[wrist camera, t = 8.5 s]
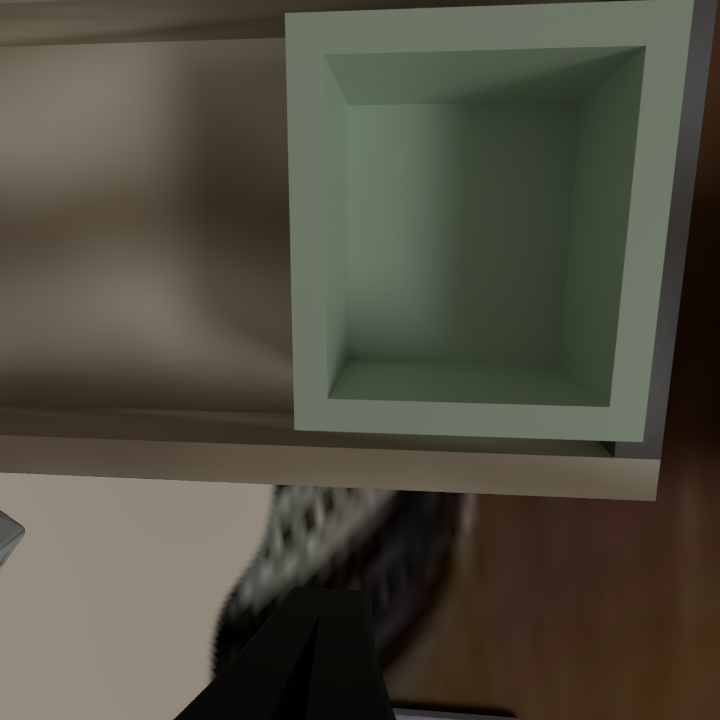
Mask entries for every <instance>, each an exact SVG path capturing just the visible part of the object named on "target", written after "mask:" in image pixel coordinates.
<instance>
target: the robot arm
mask: <svg viewBox="0 0 720 720" xmlns="http://www.w3.org/2000/svg"><path fill="white" fill-rule="evenodd" d="M174 720H519V719H517V718H511V717H499V716H486V715H474V714H461V713H449V712H436V711H424V710H411V709H399V708H392V705H391V702H390V699H389V696H388V693H387V690H386V686H385V683H384V679H383V675H382V672H381V668H380V665H379V661H378V657H377V653H376V648H375V643H374V638H373V633H372V626H371V597H370V596H369V595H368V594H367V593H366V592H365V591H358V590H341V589H325V588H308V587H295V588H294V589H292V590H291V591H290V592H289V593H288V595H287V596H286V597H285V598H284V600H283V601H282V602H281V603H280V605H279V606H278V607H277V608H276V610H275V611H274V612H273V613H272V615H271V616H270V617H269V618H268V619H267V621H266V622H265V623H264V624H263V625H262V627H261V628H260V629H259V630H258V631H257V633H256V634H255V635H254V636H253V637H252V638H251V640H250V641H249V642H248V643H247V644H246V645H245V646H244V647H243V648H242V650H241V651H240V652H239V653H238V654H237V655H236V656H235V657H234V658H233V660H232V661H231V662H230V663H229V664H228V665H227V666H226V667H225V668H224V670H223V671H222V672H221V673H220V674H219V675H218V676H217V677H216V678H215V679H214V680H213V681H212V682H211V683H210V684H209V685H208V686H207V687H206V688H205V689H204V690H203V691H202V692H201V693H200V694H199V695H198V696H197V697H196V698H195V699H194V700H193V701H192V702H191V703H190V704H189V705H188V706H187V707H186V708H185V709H184V710H183V711H182V712H181V713H180V714H179V715H178V716H177V717H176V718H175V719H174Z"/></svg>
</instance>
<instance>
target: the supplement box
mask: <svg viewBox="0 0 720 720" xmlns="http://www.w3.org/2000/svg"><path fill="white" fill-rule="evenodd" d="M24 534H25V528H24V527H23V526H22V525H20V524H19V523H17V522H16V521H15V520H13V519H12V518H10V517H9V516H8V515H6V514H5V513H3V512H2V511H0V569H1V567H2V566H3V564H4V563H5V561H6V560H7V559H8V557H9V556H10V554H11V553H12V551H13V550H14V549H15V547H16V546H17V544H18V543H19V542H20V540H21V538H22V537H23V536H24Z"/></svg>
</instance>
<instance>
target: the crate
mask: <svg viewBox="0 0 720 720" xmlns="http://www.w3.org/2000/svg"><path fill="white" fill-rule="evenodd" d="M693 6H694V0H641V1H613V2H584V3H556V4H528V5H500V6H471V7H443V8H415V9H387V10H358V11H330V12H302V13H285V39H286V83H287V126H288V170H289V213H290V257H291V300H292V344H293V387H294V430H305V431H334V432H362V433H391V434H420V435H449V436H478V437H507V438H536V439H565V440H594V441H623V442H643V437H644V428H645V420H646V411H647V402H648V394H649V385H650V377H651V368H652V359H653V351H654V342H655V333H656V325H657V316H658V308H659V299H660V290H661V282H662V273H663V264H664V256H665V247H666V239H667V230H668V221H669V213H670V204H671V195H672V187H673V178H674V170H675V161H676V152H677V144H678V135H679V126H680V118H681V109H682V101H683V92H684V83H685V75H686V66H687V57H688V49H689V40H690V32H691V23H692V14H693Z"/></svg>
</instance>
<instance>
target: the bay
mask: <svg viewBox="0 0 720 720" xmlns="http://www.w3.org/2000/svg"><path fill="white" fill-rule="evenodd" d="M613 1H641V0H0V472H4V473H5V472H6V473H27V474H50V475H74V476H95V477H119V478H142V479H164V480H187V481H188V480H189V481H210V482H233V483H255V484H256V483H257V484H278V485H301V486H324V487H347V488H369V489H392V490H415V491H438V492H461V493H484V494H506V495H529V496H552V497H575V498H598V499H621V500H643V501H655V500H656V492H657V484H658V476H659V468H660V460H661V452H662V444H663V436H664V428H665V420H666V412H667V403H668V395H669V387H670V379H671V371H672V363H673V355H674V347H675V339H676V331H677V323H678V315H679V307H680V299H681V290H682V282H683V274H684V266H685V258H686V250H687V242H688V234H689V226H690V218H691V210H692V202H693V194H694V185H695V177H696V169H697V161H698V153H699V145H700V137H701V129H702V121H703V113H704V105H705V97H706V89H707V81H708V72H709V64H710V56H711V48H712V40H713V32H714V24H715V16H716V8H717V0H694V6H693V14H692V23H691V32H690V40H689V49H688V57H687V66H686V75H685V83H684V92H683V101H682V109H681V118H680V126H679V135H678V144H677V152H676V161H675V170H674V178H673V187H672V195H671V204H670V213H669V221H668V230H667V239H666V247H665V256H664V264H663V273H662V282H661V290H660V299H659V308H658V316H657V325H656V333H655V342H654V351H653V359H652V368H651V377H650V385H649V394H648V402H647V411H646V420H645V428H644V437H643V442H623V441H594V440H565V439H536V438H507V437H478V436H449V435H420V434H391V433H362V432H334V431H305V430H294V387H293V344H292V300H291V257H290V213H289V170H288V126H287V83H286V39H285V13H302V12H330V11H358V10H387V9H415V8H443V7H471V6H500V5H528V4H556V3H584V2H613Z"/></svg>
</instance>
